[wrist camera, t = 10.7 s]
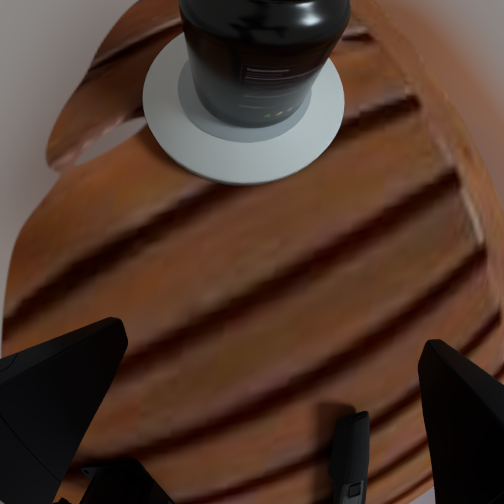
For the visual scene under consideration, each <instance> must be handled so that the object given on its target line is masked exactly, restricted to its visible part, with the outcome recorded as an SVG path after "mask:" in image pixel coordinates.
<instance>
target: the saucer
mask: <svg viewBox="0 0 504 504" xmlns="http://www.w3.org/2000/svg"><path fill="white" fill-rule="evenodd" d="M143 109H144V113H145V117H146V120H147V123H148V125H149V128H150V130H151V132H152V133H153V135H154V136H155V138H156V140H157V141H158V143H159V144H160V146H161V147H162V149H163V150H164V151H165V152H166V153H167V154H168V156H169V157H170V158H171V159H173V160H174V161H175V162H176V163H177V164H178V165H180V166H181V167H183V168H184V169H186V170H187V171H189V172H191V173H193V174H195V175H197V176H199V177H201V178H204V179H207V180H210V181H213V182H216V183H221V184H226V185H236V186H256V185H262V184H268V183H272V182H276V181H279V180H282V179H285V178H287V177H289V176H292V175H294V174H296V173H297V172H299V171H301V170H302V169H304V168H305V167H307V166H308V165H309V164H310V163H312V162H313V161H314V160H315V159H316V158H317V157H318V156H319V155H320V154H321V153H322V152H323V151H324V150H325V149H326V148H327V147H328V146H329V144H330V143H331V141H332V140H333V138H334V137H335V135H336V133H337V131H338V129H339V127H340V124H341V121H342V117H343V111H344V92H343V87H342V83H341V80H340V77H339V74H338V72H337V70H336V68H335V67H334V65H333V63H332V62H331V60H330V59H329V58H328V60H327V61H326V63H325V65H324V66H323V68H322V70H321V72H320V73H319V75H318V77H317V79H316V80H315V82H314V84H313V86H312V87H311V89H310V91H309V93H308V94H307V96H306V98H305V99H304V101H303V103H302V104H301V106H300V107H299V108H298V110H297V111H296V112H295V113H294V114H293V115H292V116H290V117H289V118H288V119H286V120H284V121H283V122H280V123H278V124H276V125H273V126H269V127H265V128H256V129H249V128H241V127H236V126H232V125H229V124H227V123H224V122H222V121H220V120H219V119H217V118H215V117H214V116H213V115H211V114H210V113H209V112H208V111H207V110H206V109H205V108H204V106H203V105H202V104H201V102H200V100H199V98H198V96H197V93H196V90H195V86H194V82H193V77H192V72H191V67H190V62H189V57H188V52H187V47H186V42H185V36H184V32H183V33H181V34H180V35H179V36H177V37H176V38H174V39H173V40H172V41H171V42H170V43H169V44H167V45H166V46H165V47H164V48H163V49H162V51H161V52H160V53H159V54H158V55H157V57H156V58H155V60H154V62H153V63H152V65H151V67H150V69H149V71H148V74H147V76H146V80H145V83H144V89H143Z"/></svg>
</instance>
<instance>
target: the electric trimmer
mask: <svg viewBox="0 0 504 504" xmlns="http://www.w3.org/2000/svg"><path fill="white" fill-rule="evenodd" d="M369 438H370V429H369V414H368V412H367V411H362V412H359V413H356V414H352V415H349V416H345V417H342V418H339V419H338V420H337V425H336V430H335V435H334V441H333V447H332V452H331V458H330V463H329V471H328V472H329V476H330V478H331V479H332V482H333V487H334V494H333V504H365V501H366V490H367V473H368V465H369Z"/></svg>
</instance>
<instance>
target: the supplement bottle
mask: <svg viewBox="0 0 504 504" xmlns="http://www.w3.org/2000/svg"><path fill="white" fill-rule="evenodd" d="M179 9H180V15H181V20H182V26H183V31H184V36H185V42H186V47H187V52H188V57H189V62H190V67H191V72H192V77H193V82H194V86H195V90H196V93H197V96H198V98H199V100H200V102H201V104H202V105H203V106H204V108H205V109H206V110H207V111H208V112H209V113H210V114H211V115H213V116H214V117H215V118H217V119H219V120H220V121H222V122H224V123H227V124H229V125H232V126H236V127H241V128H249V129H256V128H265V127H269V126H273V125H276V124H278V123H280V122H283V121H284V120H286V119H288V118H289V117H290V116H292V115H293V114H294V113H295V112H296V111H297V110H298V108H299V107H300V106H301V104H302V103H303V101H304V99H305V98H306V96H307V94H308V93H309V91H310V89H311V87H312V86H313V84H314V82H315V80H316V79H317V77H318V75H319V73H320V72H321V70H322V68H323V66H324V65H325V63H326V61H327V60H328V58H329V56H330V54H331V53H332V51H333V49H334V48H335V46H336V44H337V43H338V41H339V39H340V38H341V36H342V34H343V32H344V30H345V28H346V26H347V24H348V22H349V19H350V14H351V5H350V0H179Z"/></svg>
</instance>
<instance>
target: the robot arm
mask: <svg viewBox="0 0 504 504" xmlns="http://www.w3.org/2000/svg"><path fill="white" fill-rule="evenodd" d="M127 346H128V338H127V335H126V332H125V328H124V325H123V322H122V320H121V319H119V318H114V317H108V318H105V319H103V320H100V321H98V322H95V323H92V324H90V325H87V326H85V327H82V328H80V329H77V330H74V331H72V332H69V333H67V334H64V335H62V336H59V337H56V338H54V339H51V340H49V341H46V342H43V343H41V344H38V345H36V346H33V347H30V348H28V349H25V350H23V351H20V352H19V353H18V352H17V353H15V354H12V355H9V356H7V357H4V358H1V359H0V504H52V503H53V500H54V498H55V496H56V494H57V491H58V489H59V487H60V485H61V482H62V480H63V478H64V476H65V474H66V471H67V469H68V467H69V465H70V463H71V461H72V459H73V457H74V455H75V453H76V451H77V449H78V447H79V445H80V443H81V441H82V439H83V437H84V435H85V433H86V431H87V429H88V427H89V425H90V423H91V421H92V419H93V417H94V415H95V414H96V412H97V410H98V408H99V406H100V404H101V402H102V400H103V399H104V397H105V395H106V393H107V391H108V389H109V388H110V386H111V384H112V381H113V379H114V377H115V375H116V372H117V370H118V367H119V365H120V363H121V360H122V358H123V356H124V354H125V351H126V349H127ZM418 375H419V383H420V391H421V401H422V410H423V417H424V423H425V428H426V433H427V439H428V445H429V451H430V457H431V465H432V472H433V481H434V489H435V502H436V504H504V385H503V384H502V383H500V382H499V381H498V380H496V379H495V378H494V377H492V376H491V375H490V374H488V373H487V372H485V371H484V370H483V369H481V368H480V367H479V366H477V365H476V364H474V363H473V362H472V361H470V360H469V359H467V358H466V357H465V356H463V355H462V354H460V353H459V352H458V351H456V350H455V349H453V348H452V347H451V346H449V345H448V344H446V343H445V342H444V341H442V340H440V339H433V340H428V341H427V342H426V343H425V346H424V349H423V351H422V354H421V357H420V360H419V363H418ZM134 465H135V466H134ZM136 466H137V467H136ZM81 470H82V472H83V473H84V474H85V476H86V477H87V478H88V479H89V480H90V481H91V482H90V484H89V486H88V488H87V490H86V492H85V494H84V496H83V498H82V499H81V501H80V503H79V504H175V503H174V502H173V500H172V499H171V498H170V497H169V496H168V495H167V494H166V493H165V491H164V490H163V489H162V488H161V487H160V486H159V485H158V484H157V482H156V481H155V480H154V479H153V478H152V477H151V476H150V474H149V473H148V472H147V471H146V470H145V468H144V467H143V466H142V465H141V463H140V462H138V461H135V460H132V461H124V462H116V463H107V464H96V465H84V466H83V467H82V469H81ZM53 504H71V503H69V502H68V500H66V499H64V498H61V499H60V500H59V501H58V503H57V502H55V503H53Z"/></svg>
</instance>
